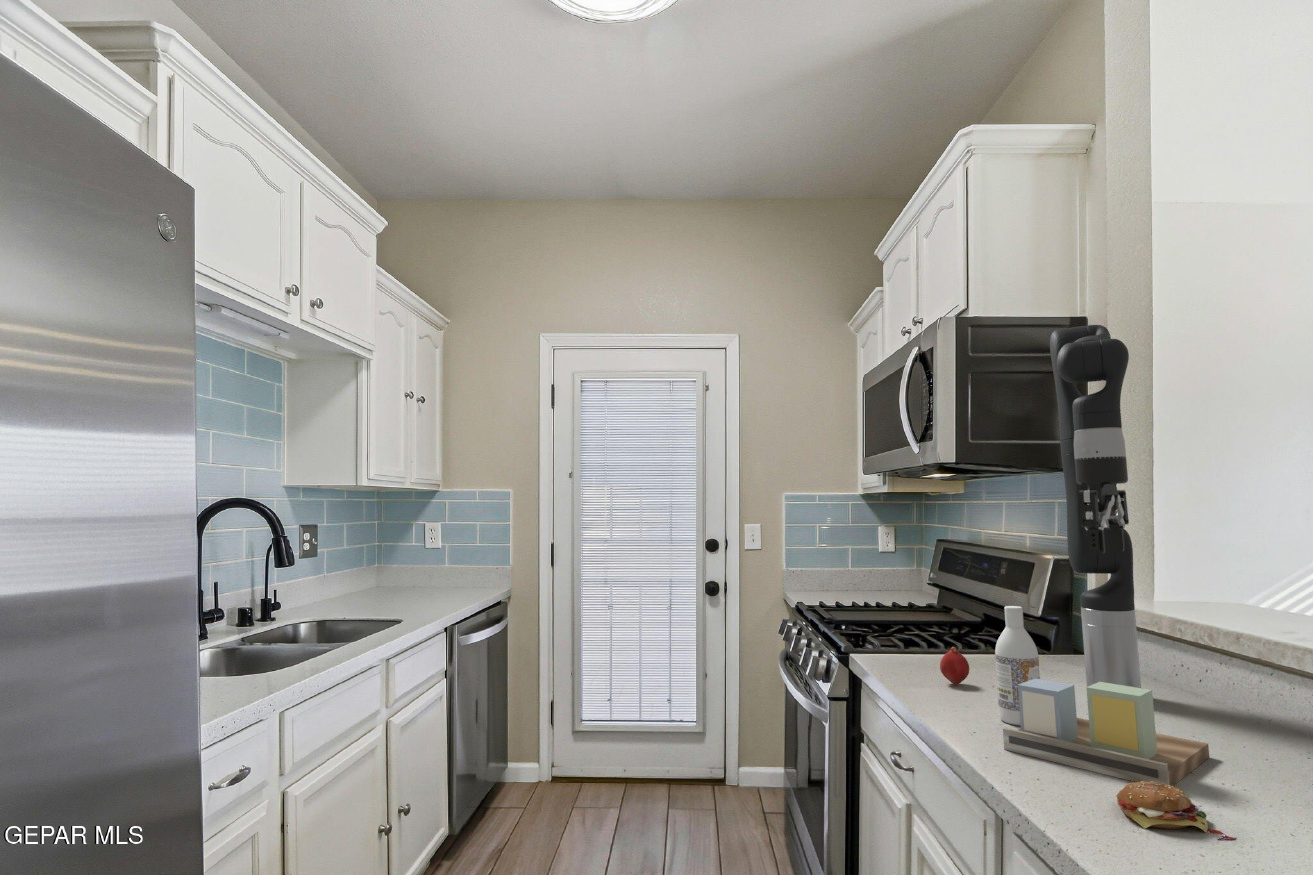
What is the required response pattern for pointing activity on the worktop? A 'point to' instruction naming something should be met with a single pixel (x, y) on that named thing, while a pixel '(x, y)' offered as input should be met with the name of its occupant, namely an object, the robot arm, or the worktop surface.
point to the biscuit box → (1048, 709)
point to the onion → (954, 666)
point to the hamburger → (1162, 807)
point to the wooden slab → (1113, 755)
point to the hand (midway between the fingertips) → (1107, 552)
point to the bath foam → (1014, 664)
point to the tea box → (1122, 719)
